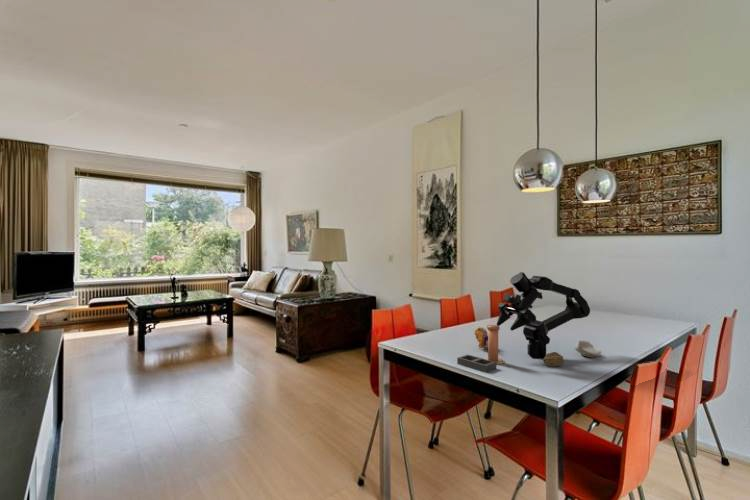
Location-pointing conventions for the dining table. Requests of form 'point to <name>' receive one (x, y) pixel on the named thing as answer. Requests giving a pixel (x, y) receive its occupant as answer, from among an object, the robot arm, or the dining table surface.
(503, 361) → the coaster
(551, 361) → the stone
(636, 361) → the dining table surface
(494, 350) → the plug
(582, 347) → the pottery shard
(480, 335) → the toy
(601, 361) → the dining table surface
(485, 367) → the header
